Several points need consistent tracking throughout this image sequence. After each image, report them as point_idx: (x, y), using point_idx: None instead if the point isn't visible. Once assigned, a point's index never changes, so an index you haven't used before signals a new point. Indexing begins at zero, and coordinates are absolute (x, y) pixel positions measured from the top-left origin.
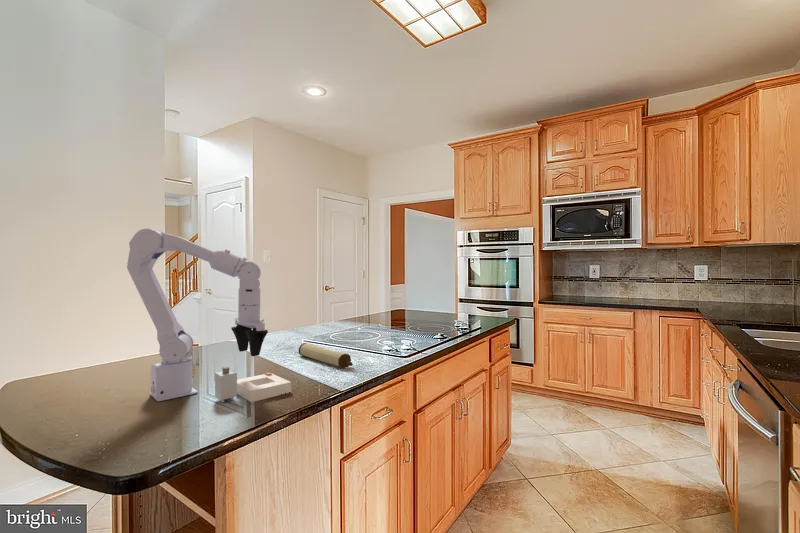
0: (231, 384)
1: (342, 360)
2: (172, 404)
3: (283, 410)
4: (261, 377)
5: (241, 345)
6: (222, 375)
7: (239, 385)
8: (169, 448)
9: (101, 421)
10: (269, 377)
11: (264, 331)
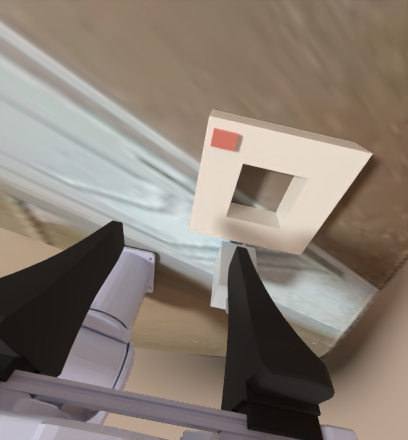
0: None
1: None
2: (178, 287)
3: (401, 236)
4: (230, 174)
5: (111, 261)
6: None
7: (232, 238)
8: (309, 337)
9: (174, 327)
10: (255, 160)
11: (322, 396)
